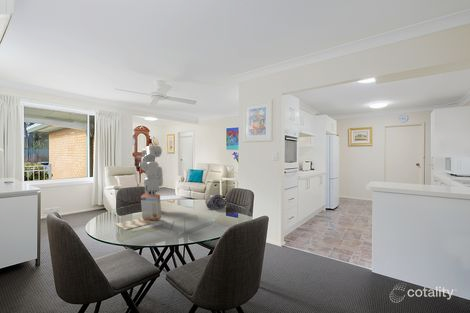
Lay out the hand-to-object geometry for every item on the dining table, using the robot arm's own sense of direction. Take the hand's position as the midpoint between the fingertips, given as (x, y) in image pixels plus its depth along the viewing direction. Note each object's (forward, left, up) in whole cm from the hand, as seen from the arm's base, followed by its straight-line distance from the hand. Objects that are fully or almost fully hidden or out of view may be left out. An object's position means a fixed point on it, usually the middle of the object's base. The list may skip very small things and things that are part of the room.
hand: (152, 199), depth 194 cm
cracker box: (0, 0, -16) cm, 16 cm away
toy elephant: (-63, +10, -18) cm, 66 cm away
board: (+15, 0, -17) cm, 23 cm away
